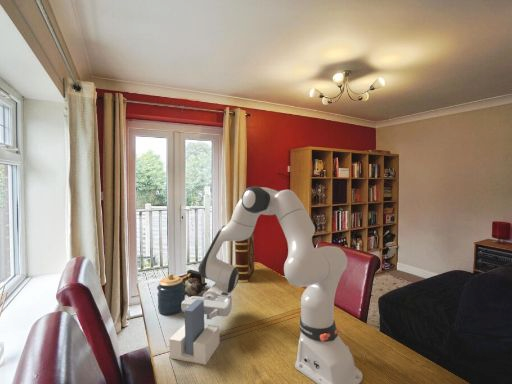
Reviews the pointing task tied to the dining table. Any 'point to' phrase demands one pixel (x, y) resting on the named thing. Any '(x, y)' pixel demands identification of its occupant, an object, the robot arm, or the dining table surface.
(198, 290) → the bookend
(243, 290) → the dining table surface
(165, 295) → the canister
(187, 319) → the slim book
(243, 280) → the decorative book
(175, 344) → the book stand
